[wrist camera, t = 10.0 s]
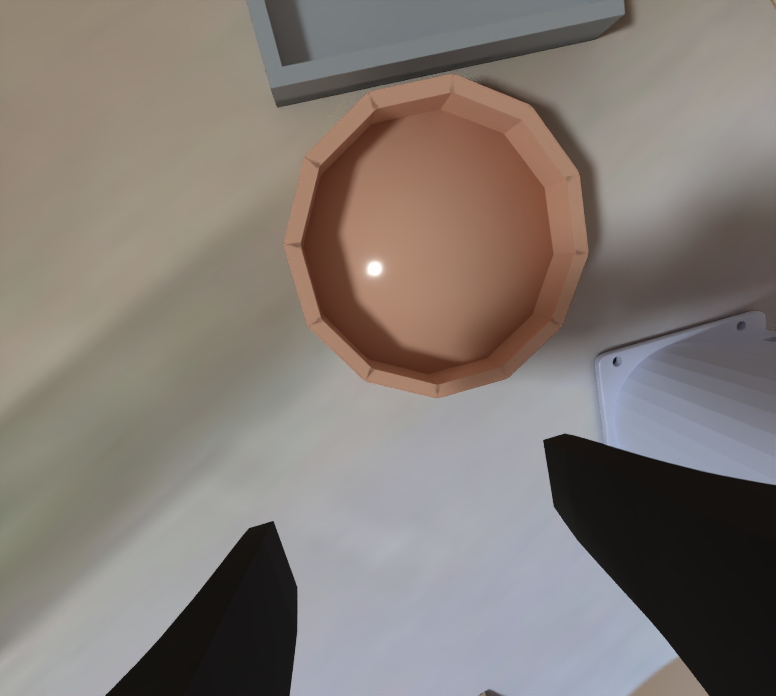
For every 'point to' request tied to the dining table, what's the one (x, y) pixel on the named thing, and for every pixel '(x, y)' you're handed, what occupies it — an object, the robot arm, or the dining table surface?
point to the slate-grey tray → (407, 38)
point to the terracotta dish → (437, 236)
